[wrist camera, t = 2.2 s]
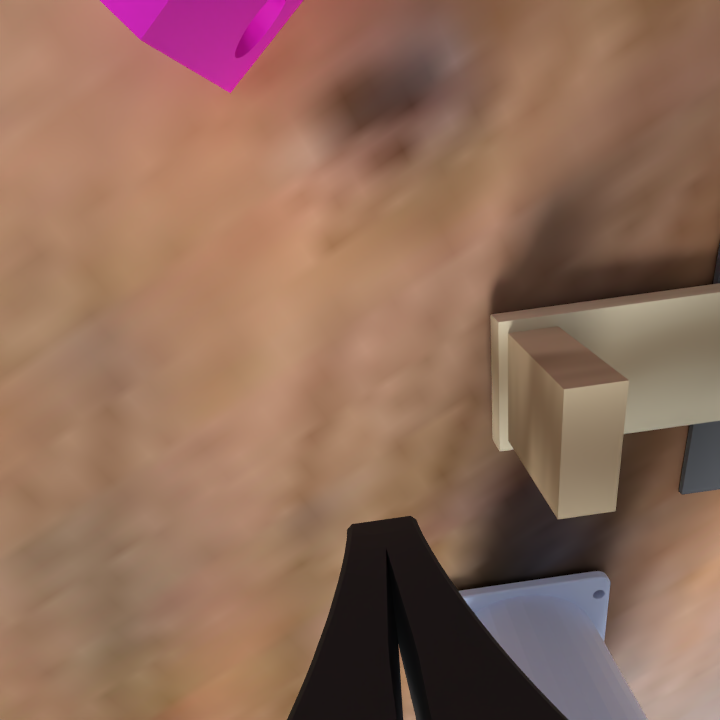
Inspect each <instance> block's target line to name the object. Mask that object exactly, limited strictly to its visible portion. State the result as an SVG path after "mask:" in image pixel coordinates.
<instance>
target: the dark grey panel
mask: <svg viewBox="0 0 720 720" xmlns="http://www.w3.org/2000/svg"><path fill="white" fill-rule="evenodd" d="M718 283H720V244H719V250H718V256H717V262H716V268H715V274H714V281H713V284H718ZM717 489H720V421H713V422H706V423H699V424H692V425H690V426H689V432H688V438H687V444H686V450H685V456H684V462H683V468H682V474H681V481H680V487H679V492H680V493H681V494H689V493H696V492H703V491H710V490H717Z"/></svg>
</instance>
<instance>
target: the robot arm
mask: <svg viewBox="0 0 720 720" xmlns="http://www.w3.org/2000/svg"><path fill="white" fill-rule="evenodd" d="M609 592H610V580H609V578H608V577H607V575H606V574H605V573H604V572H602V571H593V572H586V573H579V574H572V575H565V576H558V577H551V578H544V579H537V580H530V581H523V582H516V583H509V584H502V585H495V586H488V587H482V588H475V589H468V590H461V591H458V590H457V588H456V587H455V586H454V584H453V583H452V581H451V580H450V579H449V577H448V576H447V574H446V573H445V571H444V569H443V568H442V566H441V565H440V563H439V562H438V560H437V558H436V557H435V555H434V553H433V552H432V550H431V548H430V547H429V545H428V543H427V541H426V539H425V538H424V536H423V534H422V532H421V530H420V528H419V525H418V523H417V520H416V519H414V518H413V517H411V516H406V517H399V518H392V519H385V520H378V521H371V522H364V523H357V524H352V525H351V526H350V527H349V528H348V529H347V541H346V548H345V554H344V559H343V564H342V568H341V572H340V576H339V581H338V584H337V588H336V591H335V594H334V598H333V601H332V605H331V608H330V612H329V615H328V618H327V621H326V624H325V627H324V629H323V632H322V635H321V638H320V641H319V643H318V646H317V649H316V652H315V654H314V657H313V660H312V663H311V665H310V668H309V670H308V673H307V675H306V677H305V680H304V682H303V685H302V687H301V689H300V692H299V694H298V696H297V699H296V701H295V703H294V705H293V708H292V710H291V712H290V714H289V717H288V719H287V720H403V711H402V695H401V679H400V663H399V648H400V653H401V657H402V661H403V665H404V669H405V674H406V678H407V682H408V686H409V690H410V695H411V699H412V703H413V707H414V711H415V715H416V720H648V719H647V717H646V715H645V713H644V712H643V710H642V708H641V706H640V705H639V703H638V701H637V699H636V698H635V696H634V694H633V692H632V690H631V689H630V687H629V685H628V683H627V682H626V680H625V678H624V676H623V675H622V673H621V671H620V669H619V668H618V666H617V664H616V662H615V661H614V659H613V657H612V655H611V653H610V652H609V650H608V648H607V646H606V645H605V643H604V639H605V629H606V620H607V611H608V602H609ZM398 644H399V647H398Z"/></svg>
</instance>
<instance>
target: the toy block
mask: <svg viewBox="0 0 720 720" xmlns="http://www.w3.org/2000/svg"><path fill="white" fill-rule="evenodd" d="M100 1H101V2H102V3H103V4H104V5H105V6H106V7H107V8H108V9H109V10H110V11H111V12H112V13H113V14H114V15H115V16H116V17H117V18H118V19H120V20H121V21H122V22H123V23H124V24H125V25H126V26H127V27H128V28H129V29H130V30H131V31H132V32H133V33H134V34H135V35H136V36H137V37H138V38H139V39H140V40H142V41H143V42H145V43H147V44H148V45H150V46H152V47H153V48H155V49H157V50H158V51H160V52H162V53H164V54H165V55H167V56H169V57H170V58H172V59H174V60H175V61H177V62H179V63H180V64H182V65H184V66H186V67H187V68H189V69H191V70H192V71H194V72H196V73H197V74H199V75H201V76H202V77H204V78H206V79H208V80H209V81H211V82H213V83H214V84H216V85H218V86H219V87H221V88H223V89H224V90H226V91H228V92H230V93H231V91H232V90H233V89H234V88H235V86H236V85H237V84H238V83H239V81H240V80H241V79H242V77H243V76H244V75H245V74H246V72H247V71H248V70H249V69H250V67H251V66H252V65H253V64H254V62H255V61H256V60H257V58H258V57H259V56H260V55H261V53H262V52H263V51H264V50H265V48H266V47H267V46H268V45H269V43H270V42H271V41H272V39H273V38H274V37H275V36H276V34H277V33H278V32H279V31H280V29H281V28H282V27H283V26H284V24H285V23H286V22H287V20H288V19H289V18H290V17H291V15H292V14H293V13H294V12H295V10H296V9H297V8H298V7H299V5H300V4H301V3H302V1H303V0H100Z"/></svg>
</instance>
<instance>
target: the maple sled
mask: <svg viewBox="0 0 720 720" xmlns="http://www.w3.org/2000/svg"><path fill="white" fill-rule="evenodd" d="M491 374H492V434H493V441H494V442H495V444H496V446H497V448H498V449H499V451H507V450H514V451H515V452H516V454H517V455H518V457H519V459H520V460H521V462H522V463H523V465H524V467H525V468H526V470H527V471H528V473H529V474H530V476H531V478H532V479H533V481H534V482H535V484H536V486H537V487H538V489H539V490H540V492H541V493H542V495H543V497H544V498H545V500H546V501H547V503H548V505H549V506H550V508H551V509H552V511H553V513H554V514H555V516H556V517H557V519H564V518H571V517H578V516H585V515H592V514H599V513H606V512H613V511H616V501H617V492H618V482H619V473H620V463H621V454H622V444H623V435H624V434H628V433H635V432H642V431H649V430H656V429H663V428H670V427H678V426H685V425H692V424H699V423H706V422H713V421H720V283H718V284H711V285H703V286H696V287H689V288H681V289H674V290H667V291H659V292H652V293H645V294H637V295H630V296H623V297H615V298H608V299H601V300H593V301H586V302H579V303H571V304H564V305H557V306H549V307H542V308H535V309H527V310H520V311H513V312H505V313H498V314H491Z"/></svg>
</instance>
